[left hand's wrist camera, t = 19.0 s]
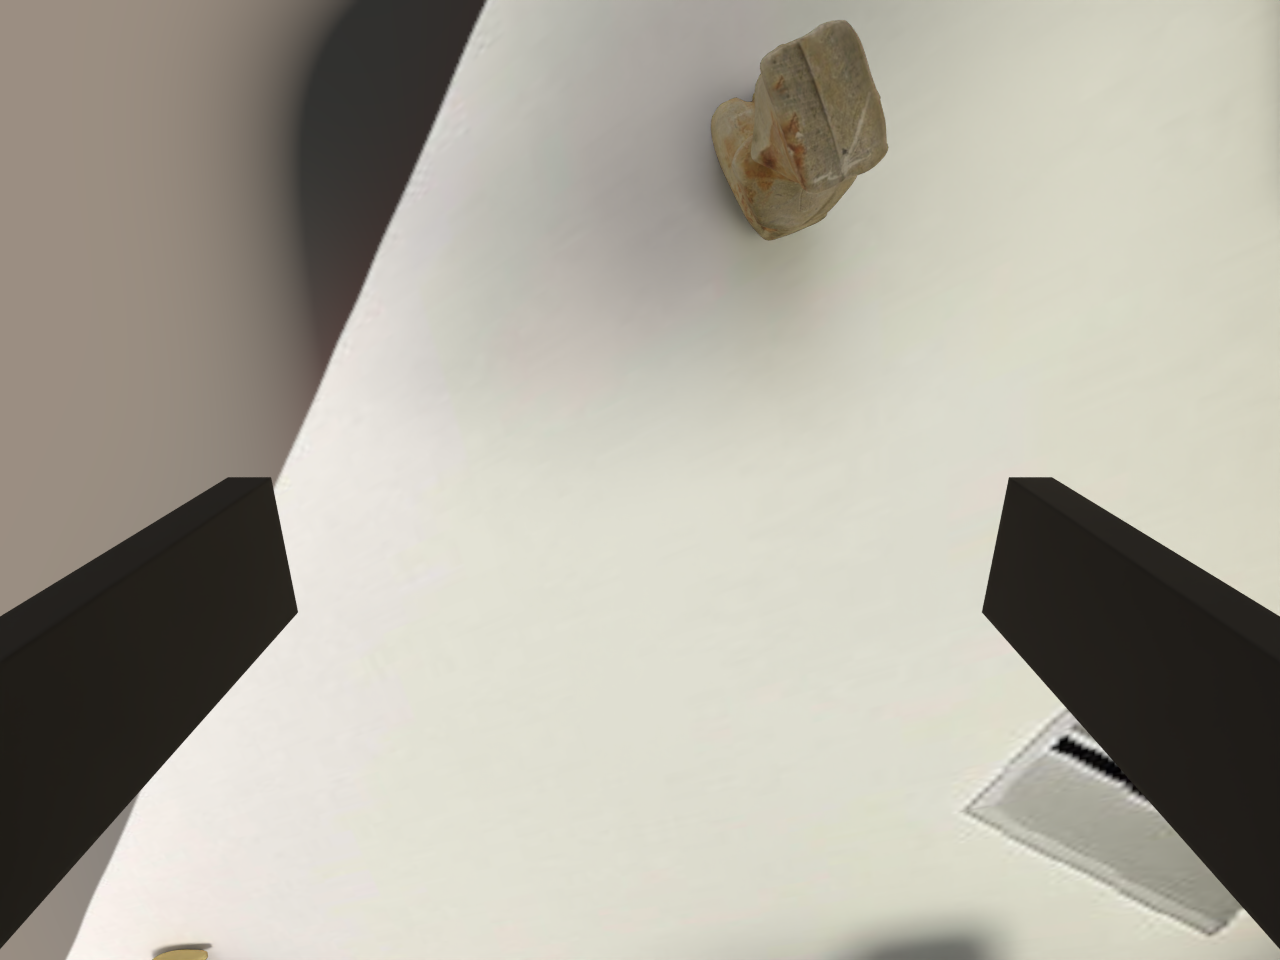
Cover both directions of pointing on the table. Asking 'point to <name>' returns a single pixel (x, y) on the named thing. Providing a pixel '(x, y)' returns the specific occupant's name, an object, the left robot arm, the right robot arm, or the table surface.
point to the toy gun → (183, 955)
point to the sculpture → (801, 131)
